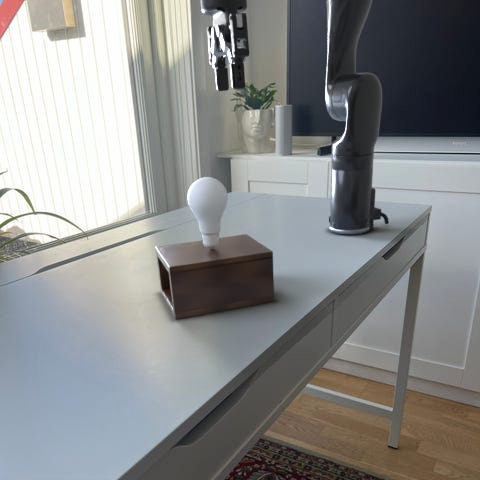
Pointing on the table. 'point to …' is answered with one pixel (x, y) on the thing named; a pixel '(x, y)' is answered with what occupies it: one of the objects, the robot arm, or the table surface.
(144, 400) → the table surface
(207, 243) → the lightbulb
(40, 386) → the table surface
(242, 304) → the shelf
